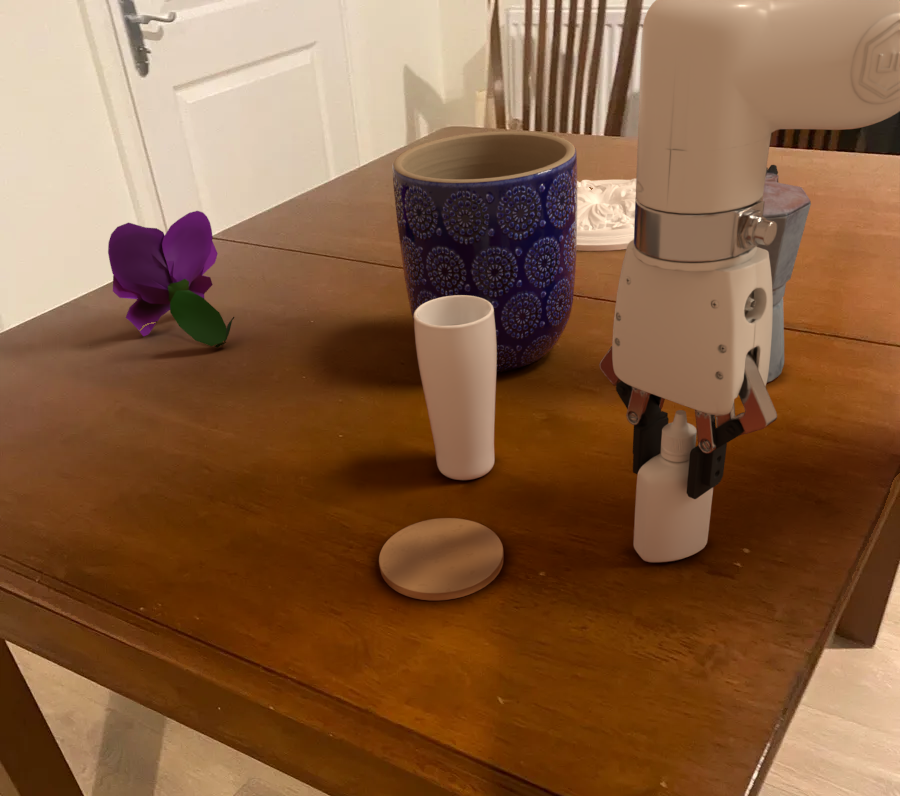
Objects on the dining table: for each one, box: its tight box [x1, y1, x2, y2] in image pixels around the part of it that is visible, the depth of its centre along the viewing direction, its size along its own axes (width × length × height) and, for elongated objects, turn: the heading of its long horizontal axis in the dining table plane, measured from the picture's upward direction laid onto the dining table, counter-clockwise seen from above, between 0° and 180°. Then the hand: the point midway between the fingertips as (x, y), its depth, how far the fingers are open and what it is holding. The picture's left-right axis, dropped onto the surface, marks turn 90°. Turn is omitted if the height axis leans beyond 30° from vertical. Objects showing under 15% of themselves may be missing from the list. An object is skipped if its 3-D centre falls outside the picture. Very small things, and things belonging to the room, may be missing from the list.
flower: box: [107, 210, 236, 349], centre depth 110 cm, size 15×15×14 cm
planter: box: [391, 130, 578, 373], centre depth 97 cm, size 18×18×21 cm
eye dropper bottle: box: [633, 409, 714, 563], centre depth 68 cm, size 4×6×12 cm
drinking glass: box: [413, 295, 498, 481], centre depth 80 cm, size 7×7×15 cm
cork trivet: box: [378, 517, 505, 602], centre depth 74 cm, size 10×10×1 cm
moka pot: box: [757, 164, 812, 383], centre depth 89 cm, size 10×15×20 cm, turn 158°
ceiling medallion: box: [576, 178, 636, 252], centre depth 134 cm, size 28×28×3 cm
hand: (675, 476), depth 68 cm, fingers closed on eye dropper bottle, 4 cm apart
